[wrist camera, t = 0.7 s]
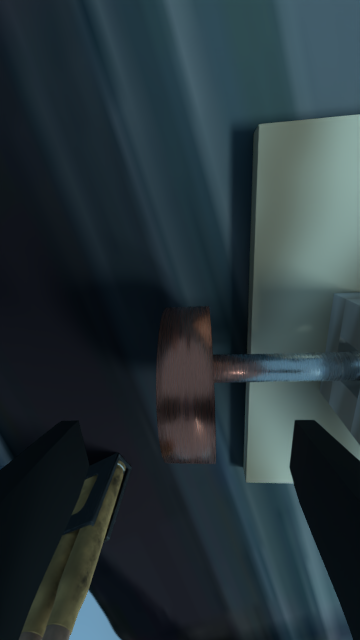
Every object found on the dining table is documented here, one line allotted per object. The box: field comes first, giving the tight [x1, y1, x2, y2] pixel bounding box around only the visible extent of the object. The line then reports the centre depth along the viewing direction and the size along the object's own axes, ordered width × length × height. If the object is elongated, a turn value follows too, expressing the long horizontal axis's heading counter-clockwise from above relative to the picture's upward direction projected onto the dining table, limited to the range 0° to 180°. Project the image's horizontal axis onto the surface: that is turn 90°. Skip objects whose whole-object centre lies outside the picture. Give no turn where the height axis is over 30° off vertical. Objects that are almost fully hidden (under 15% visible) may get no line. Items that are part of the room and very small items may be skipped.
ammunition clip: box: [19, 453, 131, 640], centre depth 16 cm, size 11×2×12 cm, turn 123°
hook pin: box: [156, 306, 360, 464], centre depth 12 cm, size 12×7×7 cm, turn 94°
